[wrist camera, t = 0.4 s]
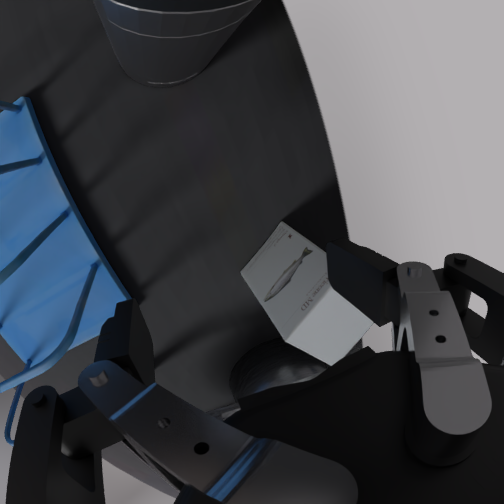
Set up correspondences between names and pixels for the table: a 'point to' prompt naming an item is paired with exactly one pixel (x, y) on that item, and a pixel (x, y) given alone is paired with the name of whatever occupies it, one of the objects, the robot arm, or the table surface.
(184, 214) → the table surface
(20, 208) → the file sorter
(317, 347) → the supplement box
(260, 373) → the cooker pot
